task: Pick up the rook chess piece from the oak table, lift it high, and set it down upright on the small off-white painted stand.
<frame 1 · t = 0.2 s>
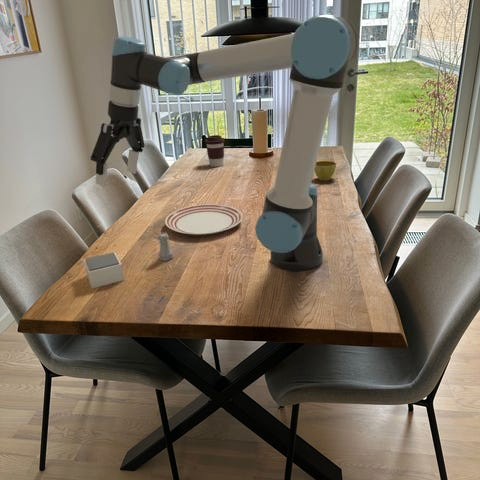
hand: (116, 178, 128), 27 cm above the table, tool tilted 15°, fingers open, 13 cm apart
stand: (105, 277, 132), on the table
dinner plate: (204, 226, 165), on the table
rook chess piece: (166, 258, 141), on the table
flower pot: (324, 179, 207), on the table
coffee cup: (216, 165, 241), on the table
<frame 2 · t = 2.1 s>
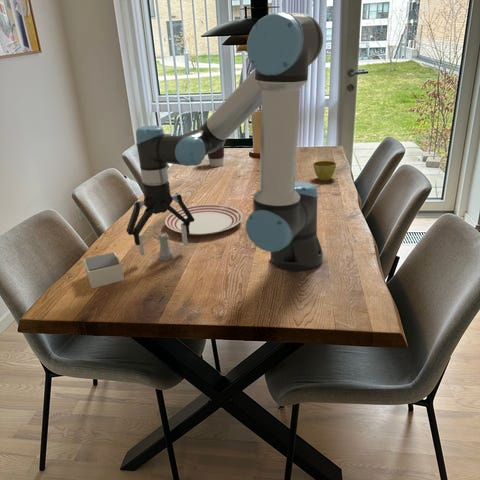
hand: (164, 248, 140), 3 cm above the table, tool pointing down, fingers open, 13 cm apart
nothing on the table moved.
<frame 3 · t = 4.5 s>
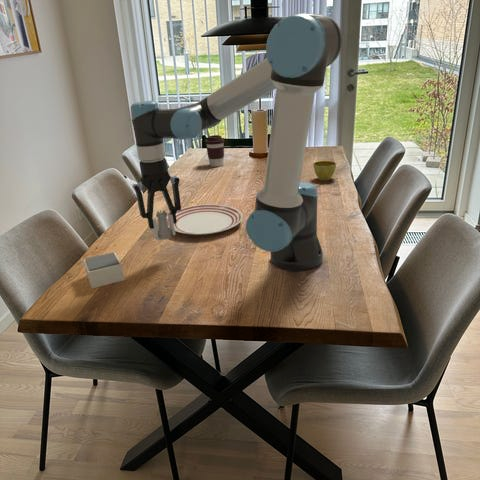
hand: (164, 235, 138), 8 cm above the table, tool pointing down, fingers closed on rook chess piece, 4 cm apart
rook chess piece: (164, 237, 138), point 7 cm above the table, touching gripper
everything else where it was.
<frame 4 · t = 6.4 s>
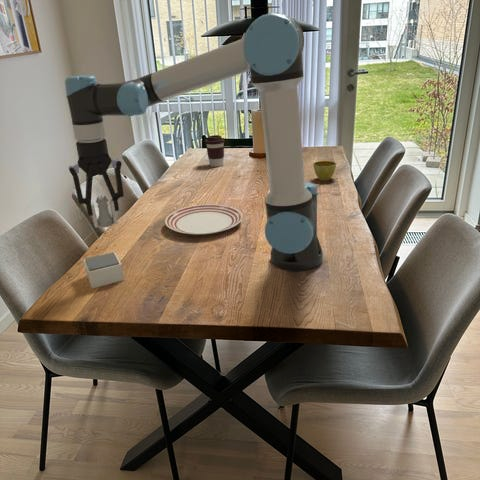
hand: (105, 223, 127), 16 cm above the table, tool pointing down, fingers closed on rook chess piece, 4 cm apart
rook chess piece: (106, 225, 128), point 15 cm above the table, touching gripper
everything else where it was.
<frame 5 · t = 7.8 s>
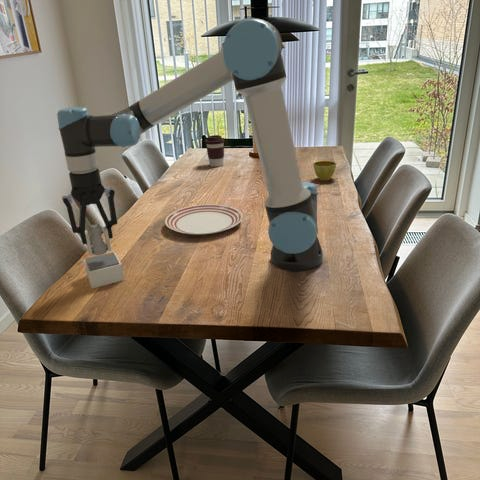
hand: (99, 251, 128), 8 cm above the table, tool pointing down, fingers closed on rook chess piece, 4 cm apart
rook chess piece: (100, 252, 128), point 8 cm above the table, touching gripper
everything else where it was.
when the fingers open (6 cm above the table, at t = 8.9 s): rook chess piece stays where it is, resting on stand.
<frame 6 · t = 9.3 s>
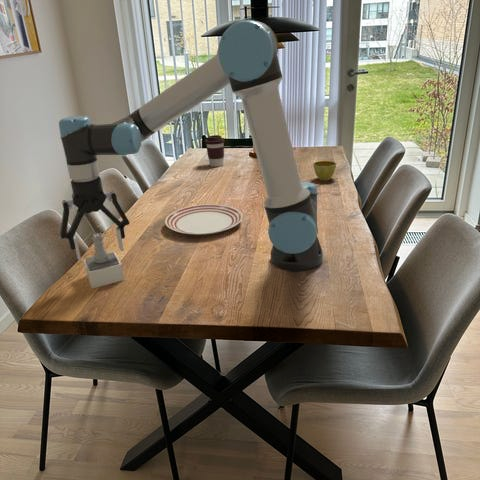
hand: (100, 254, 129), 7 cm above the table, tool pointing down, fingers open, 11 cm apart
rook chess piece: (102, 261, 130), point 5 cm above the table, touching stand
everything else where it was.
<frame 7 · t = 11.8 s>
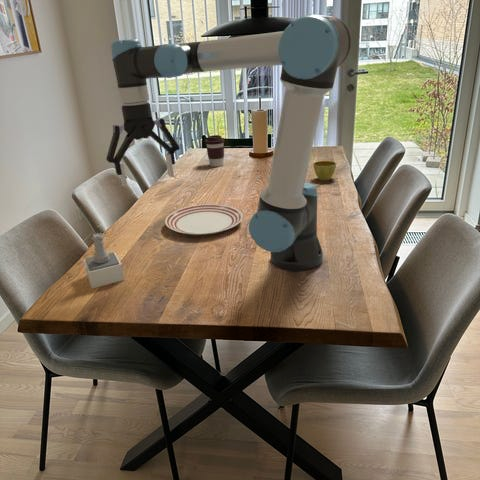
hand: (148, 180, 130), 25 cm above the table, tool pointing down, fingers open, 13 cm apart
nothing on the table moved.
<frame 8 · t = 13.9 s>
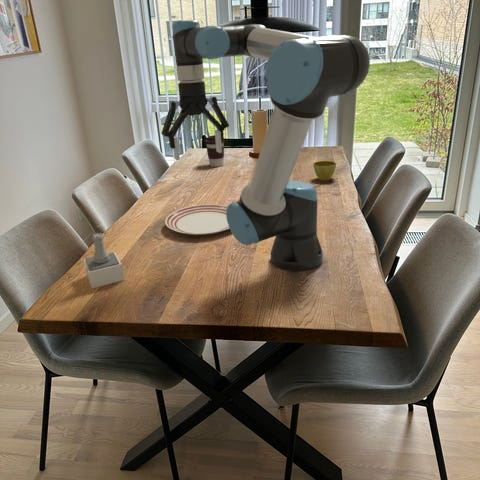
hand: (198, 155, 138), 29 cm above the table, tool pointing down, fingers open, 13 cm apart
nothing on the table moved.
at the end: rook chess piece inside the target area on the stand (0.0 cm from its centre), point 5.2 cm above the stand's base; rook chess piece tilted 0°; the gripper is holding nothing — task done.
